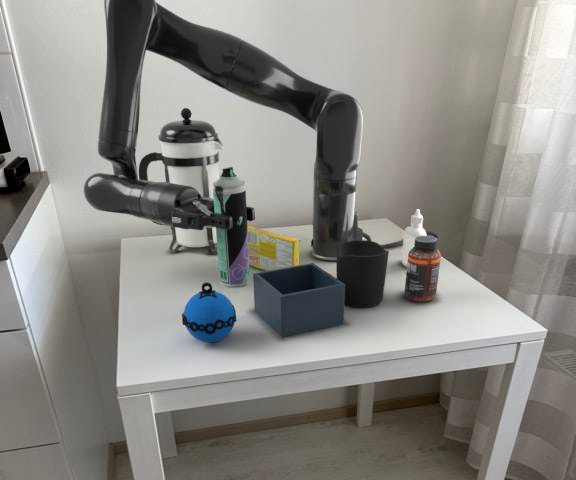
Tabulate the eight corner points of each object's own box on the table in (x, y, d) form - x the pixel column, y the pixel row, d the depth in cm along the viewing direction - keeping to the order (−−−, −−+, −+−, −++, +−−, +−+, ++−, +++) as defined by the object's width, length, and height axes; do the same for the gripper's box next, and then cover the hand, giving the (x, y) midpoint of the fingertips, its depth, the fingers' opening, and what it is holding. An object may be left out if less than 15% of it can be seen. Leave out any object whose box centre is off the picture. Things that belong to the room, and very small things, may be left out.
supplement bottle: (437, 292, 109) (445, 235, 103) (433, 304, 104) (441, 245, 98) (406, 289, 111) (412, 232, 105) (401, 300, 106) (407, 241, 100)
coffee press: (212, 232, 144) (201, 102, 128) (240, 249, 132) (232, 108, 117) (147, 244, 137) (127, 107, 121) (171, 263, 125) (152, 114, 109)
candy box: (300, 278, 116) (300, 239, 112) (293, 281, 115) (292, 241, 110) (248, 260, 126) (247, 223, 121) (241, 262, 125) (239, 225, 120)
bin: (312, 299, 107) (312, 262, 103) (343, 324, 97) (345, 284, 94) (254, 311, 102) (252, 273, 99) (281, 337, 93) (280, 297, 89)
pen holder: (390, 294, 108) (394, 243, 103) (376, 313, 101) (380, 259, 96) (344, 287, 112) (346, 237, 107) (327, 304, 104) (329, 252, 99)
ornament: (235, 326, 97) (231, 271, 92) (239, 349, 90) (235, 291, 84) (185, 330, 96) (178, 275, 91) (185, 354, 89) (178, 295, 83)
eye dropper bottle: (402, 269, 120) (408, 213, 114) (400, 260, 125) (406, 206, 118) (423, 270, 120) (430, 213, 113) (420, 261, 124) (427, 206, 118)
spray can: (245, 289, 100) (239, 171, 89) (216, 287, 101) (206, 170, 90) (253, 277, 104) (248, 164, 94) (225, 276, 105) (216, 163, 95)
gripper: (138, 191, 96) (212, 205, 88) (195, 176, 106) (267, 187, 98) (145, 235, 100) (216, 252, 92) (199, 216, 110) (268, 230, 102)
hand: (242, 218), depth 95 cm, fingers closed on spray can, 5 cm apart
